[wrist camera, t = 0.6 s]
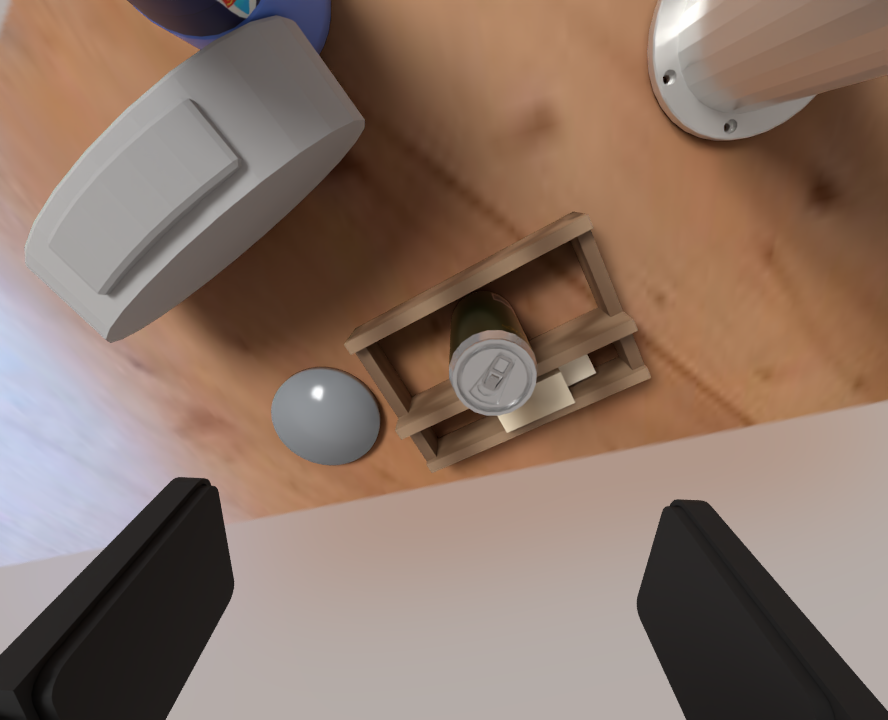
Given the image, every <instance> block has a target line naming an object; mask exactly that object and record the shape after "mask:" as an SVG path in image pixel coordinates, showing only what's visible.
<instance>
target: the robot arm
mask: <svg viewBox="0 0 888 720" xmlns="http://www.w3.org/2000/svg"><path fill="white" fill-rule="evenodd" d="M647 57H648V71H649V77H650V80H651V84H652V88H653V92H654V94H655V96H656V98H657V100H658V102H659V104H660V106H661V108H662V109H663V111H664V112H665V113H666V114H667V116H668V117H669V118H670V119H671V121H672V122H674V123H675V124H676V125H678V126H679V127H680V128H681V129H683V130H684V131H686V132H688V133H690V134H692V135H695V136H697V137H699V138H704V139H709V140H714V141H725V140H737V139H742V138H748V137H751V136H755V135H758V134H761V133H764V132H767V131H769V130H771V129H773V128H775V127H776V126H778V125H780V124H782V123H784V122H786V121H787V120H788V119H790V118H791V117H792V116H794V115H795V114H797V113H798V112H799V111H801V110H802V109H803V108H804V107H805V106H806V105H807V104H808V103H809V102H810V101H811V100H812V99H813V98H814V97H815V96H816V95H817V94H819V93H823V92H827V91H830V90H834V89H838V88H842V87H845V86H849V85H853V84H856V83H860V82H864V81H867V80H871V79H875V78H878V77H882V76H886V75H888V0H658V2H657V5H656V7H655V10H654V14H653V18H652V22H651V26H650V30H649V39H648V49H647ZM663 76H664V77H666V79H667V82H666V84H664V82H663ZM724 125H725V126H726V129H725V131H724ZM233 589H234V578H233V572H232V566H231V560H230V555H229V549H228V543H227V538H226V532H225V526H224V520H223V515H222V509H221V503H220V498H219V492H218V489H217V488H216V487H215V486H211V483H210V481H209V480H208V479H205V478H185V477H178V478H175V479H173V480H172V481H171V482H170V483H169V484H168V485H167V486H166V487H165V488H164V489H163V490H162V491H161V492H160V493H159V494H158V495H157V496H156V497H155V498H154V499H153V500H152V501H151V502H150V503H149V504H148V505H147V506H146V507H145V508H144V509H143V510H142V511H141V512H140V513H139V514H138V515H137V516H136V517H135V518H134V519H133V520H132V521H131V522H130V523H129V524H128V525H127V527H126V528H125V529H124V530H123V531H122V532H121V533H120V534H119V535H118V536H117V537H116V538H115V539H114V540H113V541H112V542H111V543H110V544H109V545H108V546H107V547H106V548H105V549H104V550H103V551H102V552H101V553H100V554H99V555H98V556H97V557H96V558H95V559H94V560H93V561H92V562H91V563H90V564H89V565H88V566H87V567H86V568H85V569H84V570H83V571H82V572H81V573H80V574H79V576H77V578H75V579H74V580H73V581H72V583H70V584H69V585H68V587H67V588H66V589H65V590H64V591H63V592H62V593H61V594H60V595H59V596H58V597H57V598H56V599H55V600H54V601H53V602H52V603H51V604H50V605H49V606H48V607H47V608H46V609H45V610H44V611H43V612H42V613H41V614H40V615H39V616H38V617H37V618H36V619H35V620H34V621H33V622H32V623H31V624H30V625H29V626H28V627H27V628H26V629H25V630H24V631H23V632H22V633H21V634H20V636H19V637H17V638H16V639H15V640H14V641H13V642H12V644H11V645H9V647H8V648H7V649H6V650H5V651H4V652H3V653H2V654H1V655H0V720H166V718H167V716H168V714H169V712H170V710H171V709H172V707H173V705H174V703H175V701H176V699H177V698H178V696H179V694H180V692H181V690H182V688H183V686H184V685H185V683H186V681H187V679H188V677H189V675H190V674H191V672H192V670H193V668H194V666H195V664H196V662H197V661H198V659H199V657H200V655H201V653H202V651H203V650H204V648H205V646H206V644H207V642H208V640H209V639H210V637H211V635H212V633H213V631H214V629H215V627H216V626H217V624H218V622H219V620H220V618H221V616H222V614H223V613H224V611H225V609H226V607H227V605H228V604H229V602H230V599H231V597H232V594H233ZM637 610H638V614H639V617H640V620H641V622H642V624H643V626H644V629H645V631H646V633H647V635H648V637H649V639H650V642H651V644H652V646H653V648H654V650H655V653H656V655H657V657H658V659H659V661H660V663H661V666H662V668H663V670H664V672H665V674H666V676H667V679H668V681H669V683H670V685H671V687H672V690H673V692H674V694H675V696H676V698H677V700H678V703H679V704H680V707H681V709H682V711H683V713H684V716H685V718H686V720H888V711H887V710H886V709H885V708H884V706H883V705H882V704H881V703H880V702H879V701H878V699H877V698H876V697H875V696H874V695H873V694H872V692H871V691H870V690H869V689H868V688H867V687H866V685H865V684H864V683H863V682H862V681H861V680H860V679H859V677H858V676H857V675H856V674H855V673H854V672H853V670H852V669H851V668H850V667H849V666H848V665H847V663H846V662H845V661H844V660H843V659H842V658H841V656H840V655H839V654H838V653H837V652H836V651H835V649H834V648H833V647H832V646H831V645H830V644H829V642H828V641H827V640H826V639H825V638H824V637H823V636H822V634H821V633H820V632H819V631H818V630H817V629H816V627H815V626H814V625H813V624H812V623H811V622H810V620H809V619H808V618H807V617H806V616H805V615H804V613H803V612H801V610H800V609H799V608H798V607H797V605H796V604H795V603H794V602H793V601H792V600H791V599H790V597H789V596H788V595H787V594H786V593H785V591H784V590H783V589H782V588H781V587H780V586H779V584H778V583H777V582H776V581H775V580H774V579H773V577H772V576H771V575H770V574H769V573H768V572H767V571H766V569H765V568H764V567H763V566H762V565H761V564H760V562H759V561H758V560H757V559H756V558H755V557H754V555H753V554H752V553H751V552H750V551H749V550H748V548H747V547H746V546H745V545H744V544H743V543H742V542H741V540H740V539H739V538H738V537H737V536H736V535H735V534H734V532H733V531H732V530H731V529H730V528H729V526H728V525H727V524H726V523H725V522H724V521H723V520H722V518H721V517H720V516H719V515H718V514H717V512H716V511H715V510H714V509H713V508H712V507H711V506H710V505H709V504H708V503H707V502H705V501H699V500H674V501H673V502H672V503H671V504H670V506H667V507H665V508H664V509H663V512H662V514H661V518H660V522H659V525H658V528H657V532H656V535H655V538H654V542H653V545H652V549H651V552H650V556H649V559H648V562H647V566H646V569H645V573H644V576H643V580H642V583H641V587H640V590H639V593H638V597H637Z"/></svg>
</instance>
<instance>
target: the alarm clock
mask: <svg viewBox="0 0 888 720" xmlns="http://www.w3.org/2000/svg"><path fill="white" fill-rule="evenodd" d="M364 128H365V119H364V118H363V116H362V115H361V114H360V112H359V111H358V109H357V108H356V107H355V105H354V104H353V102H352V101H351V100H350V98H349V97H348V95H347V94H346V93H345V91H344V90H343V88H342V87H341V86H340V84H339V83H338V81H337V80H336V78H335V77H334V76H333V74H332V73H331V71H330V70H329V69H328V67H327V66H326V64H325V63H324V62H323V60H322V59H321V57H320V56H319V55H318V53H317V52H316V50H315V49H314V48H313V46H312V45H311V43H310V42H309V40H308V39H307V38H306V36H305V35H304V33H303V32H302V31H301V29H300V28H299V26H298V25H297V24H296V22H294V21H293V20H291V19H288V18H285V17H281V16H278V15H275V16H271V17H267V18H263V19H259V20H255V21H251V22H249V23H247V24H245V25H243V26H241V27H239V28H237V29H235V30H233V31H232V32H230V33H228V34H226V35H224V36H222V37H220V38H218V39H216V40H214V41H213V42H211V43H210V44H208V45H207V46H206V47H204V48H203V49H201V50H200V51H198V52H197V53H196V54H194V55H193V56H191V57H190V58H189V59H187V60H186V61H184V62H183V63H181V64H180V65H179V66H177V67H176V68H174V69H173V70H171V71H170V72H169V73H168V74H167V75H165V76H164V77H163V78H162V79H161V80H160V81H158V82H157V83H156V84H155V85H154V86H153V87H151V88H150V89H149V90H148V91H147V92H146V93H144V94H143V95H142V96H141V97H140V98H139V99H137V100H136V101H135V102H134V103H133V104H132V105H130V106H129V107H128V108H127V109H126V110H125V111H124V112H123V113H122V114H121V115H120V116H119V117H118V118H117V119H116V120H115V121H114V122H113V123H112V124H111V125H110V126H109V127H108V128H107V129H106V130H105V131H104V132H103V133H102V134H101V135H100V136H99V137H98V138H97V139H96V141H95V142H94V143H93V144H92V145H91V146H90V147H89V148H88V149H87V150H86V151H85V152H84V153H83V154H82V156H81V157H80V158H79V159H78V161H77V162H76V163H75V164H74V166H73V167H72V168H71V169H70V171H69V172H68V173H67V174H66V176H65V177H64V178H63V179H62V180H61V182H60V183H59V184H58V185H57V187H56V188H55V189H54V191H53V192H52V194H51V195H50V197H49V199H48V200H47V202H46V203H45V205H44V207H43V208H42V210H41V212H40V213H39V215H38V216H37V218H36V220H35V221H34V223H33V226H32V228H31V231H30V234H29V236H28V239H27V242H26V244H25V247H24V248H25V263H26V266H27V267H28V268H29V269H30V270H31V271H32V272H33V273H34V274H35V275H36V276H37V277H39V278H40V279H41V280H42V281H43V282H44V283H45V284H46V285H47V286H48V287H49V288H50V289H51V290H53V291H54V292H55V293H56V294H57V295H58V296H59V297H60V298H61V299H62V300H63V301H64V302H66V303H67V304H68V305H69V306H70V307H71V308H72V309H73V310H74V311H75V312H76V313H77V314H78V315H80V316H81V317H82V318H83V319H84V320H85V321H86V322H87V323H88V324H89V325H90V326H91V327H92V328H94V329H95V330H96V331H97V332H98V333H99V334H100V335H101V336H102V337H103V338H104V339H105V340H107V341H108V342H110V343H111V342H115V341H118V340H121V339H124V338H126V337H127V336H129V335H131V334H133V333H135V332H137V331H139V330H141V329H142V328H144V327H145V326H147V325H148V324H150V323H151V322H153V321H155V320H156V319H158V318H159V317H161V316H162V315H164V314H165V313H167V312H168V311H169V310H171V309H172V308H174V307H175V306H176V305H178V304H179V303H181V302H182V301H183V300H185V299H186V298H187V297H189V296H190V295H191V294H193V293H194V292H195V291H197V290H198V289H199V288H201V287H202V286H203V285H204V284H206V283H207V282H208V281H210V280H211V279H212V278H213V277H215V276H216V275H217V274H218V273H220V272H221V271H222V270H223V269H225V268H226V267H227V266H228V265H229V264H231V263H232V262H233V261H234V260H236V259H237V258H238V257H239V256H240V255H242V254H243V253H244V252H245V251H246V250H247V249H249V248H250V247H251V246H252V245H253V244H254V243H256V242H257V241H258V240H259V239H260V238H261V237H263V236H264V235H265V234H266V233H267V232H268V231H269V230H270V229H272V228H273V227H274V226H275V225H276V224H277V223H278V222H279V221H280V220H281V219H283V218H284V217H285V216H286V215H287V214H288V213H289V212H290V211H291V210H292V209H293V208H295V207H296V206H297V205H298V204H299V203H300V202H301V201H302V200H303V199H304V198H305V197H306V196H307V195H308V194H309V193H310V192H311V191H312V190H313V189H314V188H315V187H316V186H317V185H318V184H319V183H320V182H321V181H322V180H323V179H324V178H325V177H326V176H327V175H328V174H329V173H330V172H331V170H332V169H333V168H334V167H335V166H336V165H337V164H338V163H339V162H340V161H341V160H342V158H343V157H344V156H345V155H346V154H347V152H348V151H349V150H350V149H351V148H352V146H353V145H354V144H355V143H356V141H357V139H358V138H359V136H360V135H361V133H362V131H363V130H364Z"/></svg>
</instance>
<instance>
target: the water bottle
mask: <svg viewBox="0 0 888 720" xmlns="http://www.w3.org/2000/svg"><path fill="white" fill-rule="evenodd" d="M127 1H129V2H130V3H131V4H132V5H133V6H134V7H135V8H136V9H137V10H138V11H140V12H141V13H142V14H143V15H144V16H145V17H147V18H148V19H149V20H150V21H151V22H153V23H155V24H157V25H158V26H160V27H162V28H164V29H165V30H167V31H169V32H170V33H172V34H174V35H176V36H177V37H179V38H181V39H183V40H184V41H186V42H188V43H190V44H191V45H193V46H195V47H197V48H198V49H200V50H201V49H203V48H204V47H206V46H207V45H208V44H210V43H211V42H213V41H214V40H216V39H218V38H220V37H222V36H224V35H226V34H228V33H230V32H232V31H233V30H235V29H237V28H239V27H241V26H243V25H245V24H247V23H249V22H251V21H255V20H259V19H263V18H267V17H271V16H275V15H278V16H281V17H285V18H288V19H291V20H293V21H294V22H296V24H297V25H298V26H299V28H300V29H301V31H302V32H303V33H304V35H305V36H306V38H307V39H308V40H309V42H310V43H311V45H312V46H313V48H314V49H315V50H316V52H317V53H318V55H319V54H320V52H321V51H322V49H323V47H324V44H325V42H326V39H327V36H328V33H329V26H330V20H331V0H127Z"/></svg>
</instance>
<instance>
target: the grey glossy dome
mask: <svg viewBox="0 0 888 720" xmlns="http://www.w3.org/2000/svg"><path fill="white" fill-rule="evenodd" d="M271 414H272V421H273V425H274V428H275V431H276V432H277V434H278V436H279V438H280V439H281V440H282V442H283V443H284V444H285V445H286V446H287V447H288V448H289V449H290V450H291V451H292V452H294V453H295V454H297V455H298V456H300V457H302V458H304V459H306V460H308V461H311V462H314V463H318V464H323V465H340V464H345V463H349V462H352V461H354V460H356V459H358V458H360V457H362V456H363V455H364V454H366V453H367V452H368V451H369V450H370V448H371V447H372V446H373V444H374V442H375V441H376V438H377V435H378V432H379V429H380V424H381V415H380V409H379V405H378V403H377V400H376V398H375V397H374V395H373V393H372V392H371V391H370V389H369V388H368V387H367V386H366V385H365V384H364V383H363V382H362V381H360V380H359V379H358V378H356V377H355V376H353V375H351V374H349V373H347V372H345V371H342V370H339V369H335V368H330V367H314V368H308V369H305V370H302V371H300V372H297V373H296V374H294V375H292V376H291V377H290V378H289V379H287V380H286V381H285V382H284V384H283V385H282V386H281V387H280V388H279V389H278V391H277V393H276V394H275V397H274V399H273V403H272V410H271Z"/></svg>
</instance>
